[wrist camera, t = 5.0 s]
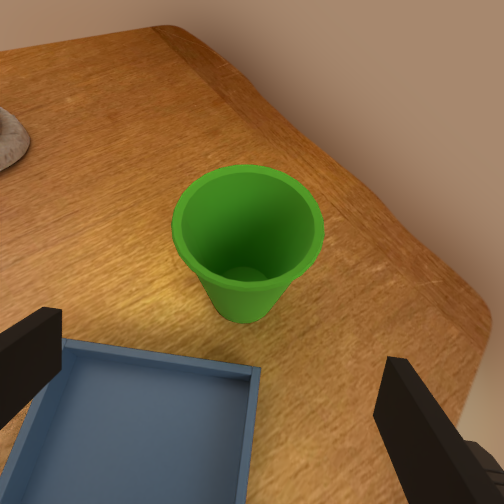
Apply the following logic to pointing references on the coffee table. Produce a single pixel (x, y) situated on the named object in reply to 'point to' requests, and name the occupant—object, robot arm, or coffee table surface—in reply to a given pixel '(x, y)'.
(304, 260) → the cup
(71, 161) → the coffee table surface
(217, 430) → the blue tray
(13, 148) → the sculpture
